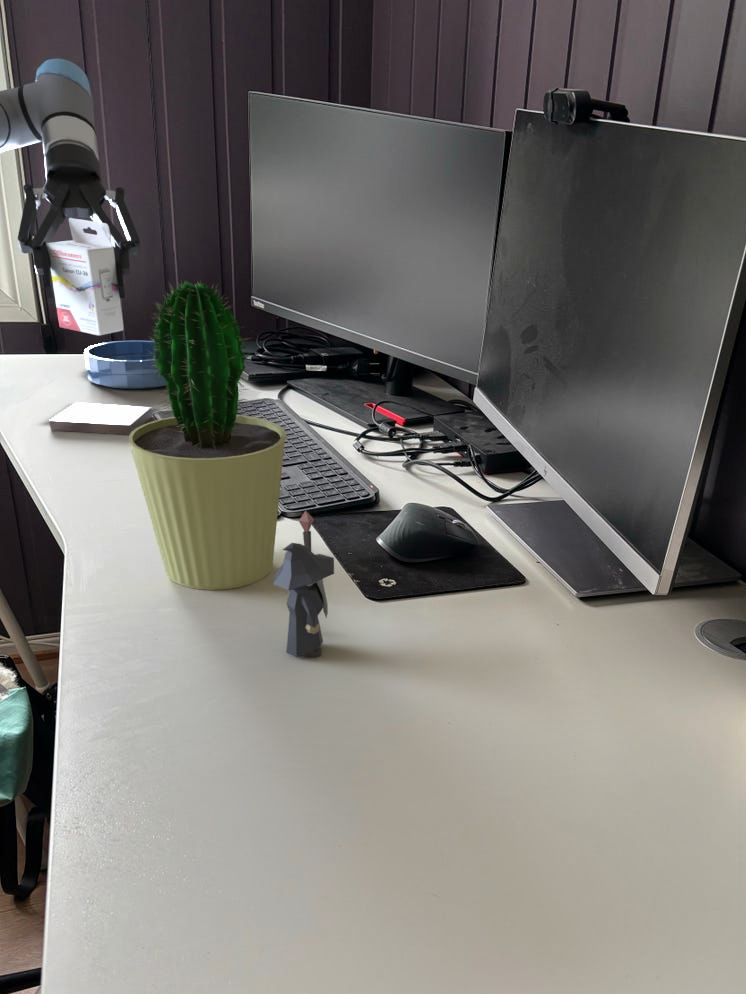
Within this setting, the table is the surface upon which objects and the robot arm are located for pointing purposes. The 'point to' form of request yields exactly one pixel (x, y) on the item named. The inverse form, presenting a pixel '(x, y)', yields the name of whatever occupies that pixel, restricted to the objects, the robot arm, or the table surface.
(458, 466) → the table surface
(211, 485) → the potted cactus
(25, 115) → the robot arm
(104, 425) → the board
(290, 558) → the wizard figurine
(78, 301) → the ink cartridge box
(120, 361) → the bowl
